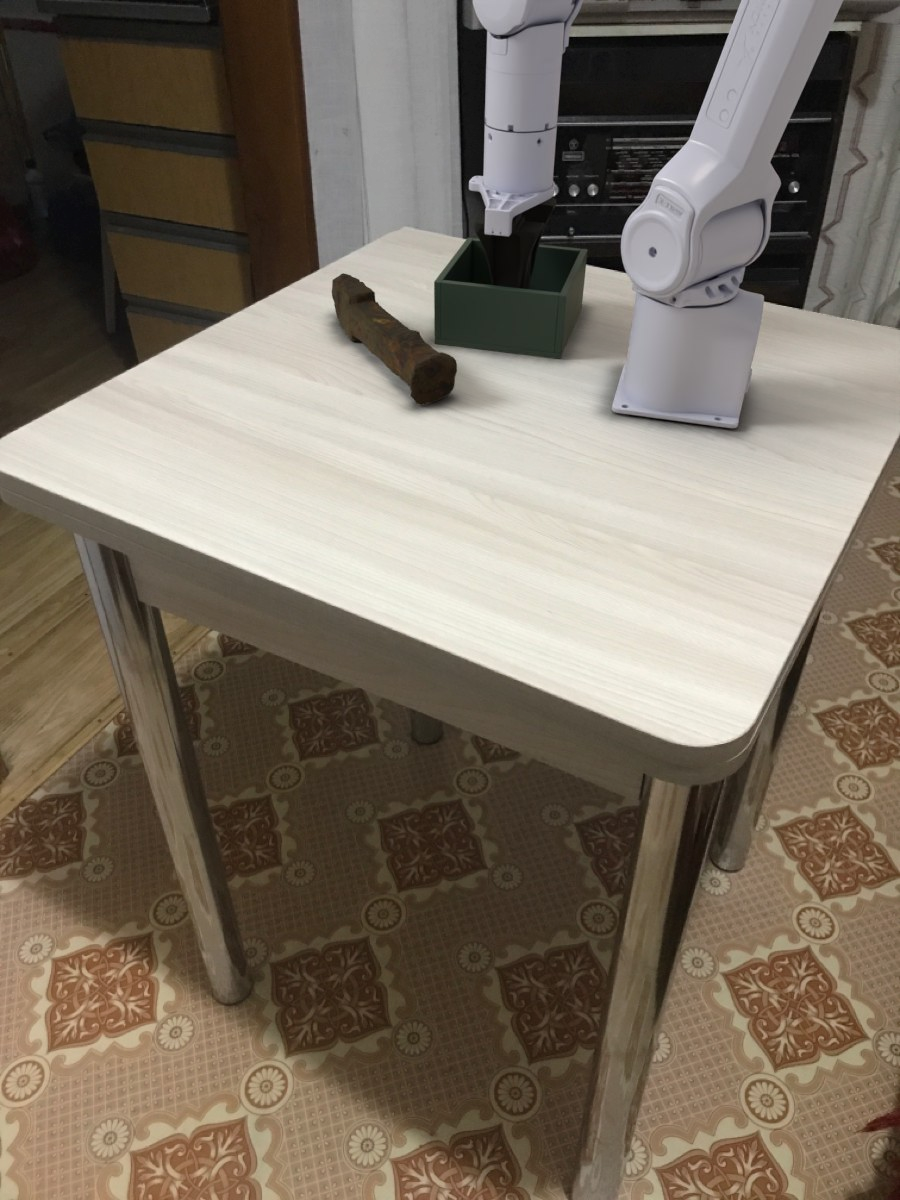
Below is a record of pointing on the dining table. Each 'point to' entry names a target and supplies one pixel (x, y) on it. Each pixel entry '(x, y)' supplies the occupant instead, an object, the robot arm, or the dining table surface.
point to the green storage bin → (510, 302)
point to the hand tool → (392, 341)
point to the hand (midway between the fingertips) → (512, 292)
